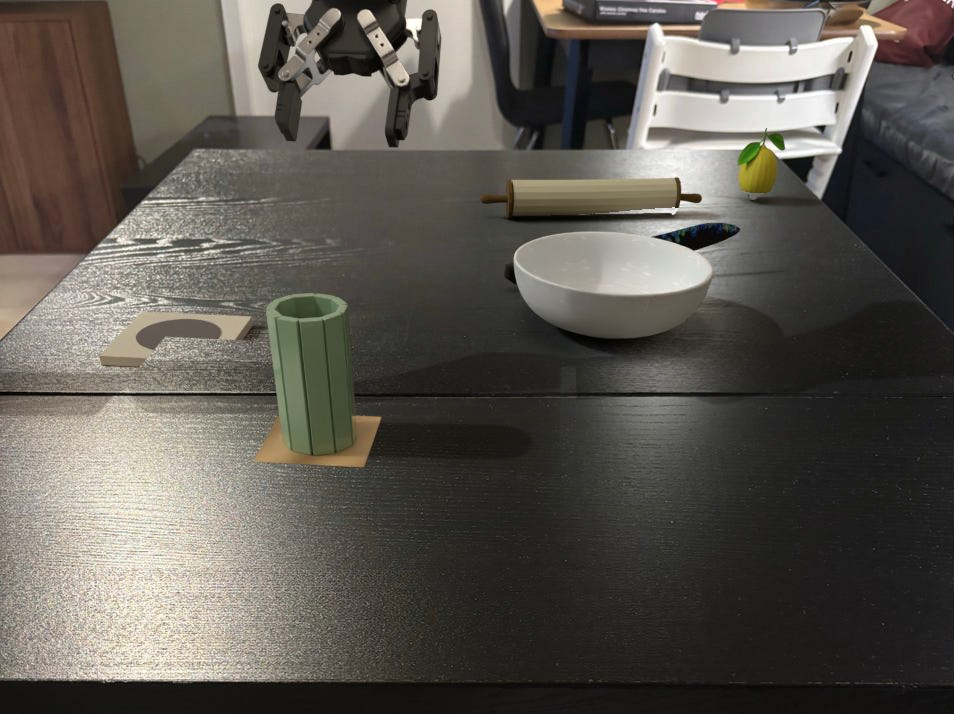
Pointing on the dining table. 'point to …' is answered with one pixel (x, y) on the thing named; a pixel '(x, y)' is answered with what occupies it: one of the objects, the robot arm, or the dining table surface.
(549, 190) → the rolling pin
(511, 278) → the knife
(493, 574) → the dining table surface
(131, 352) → the plate
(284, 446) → the peg stand
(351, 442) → the ceramic tube
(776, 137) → the lemon
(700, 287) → the serving bowl
